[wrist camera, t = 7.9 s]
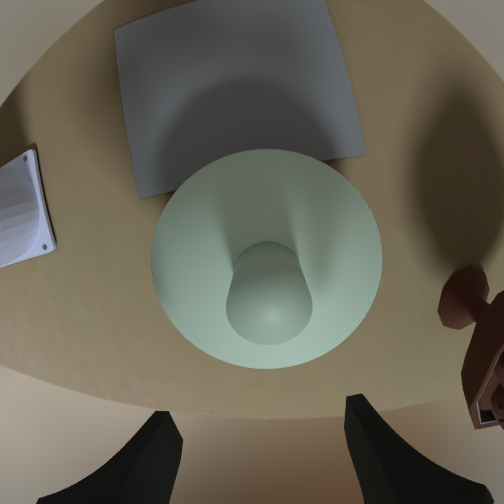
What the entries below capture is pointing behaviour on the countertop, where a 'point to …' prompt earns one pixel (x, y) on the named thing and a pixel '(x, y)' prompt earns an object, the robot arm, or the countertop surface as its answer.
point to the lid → (266, 258)
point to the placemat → (232, 86)
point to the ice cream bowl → (478, 343)
